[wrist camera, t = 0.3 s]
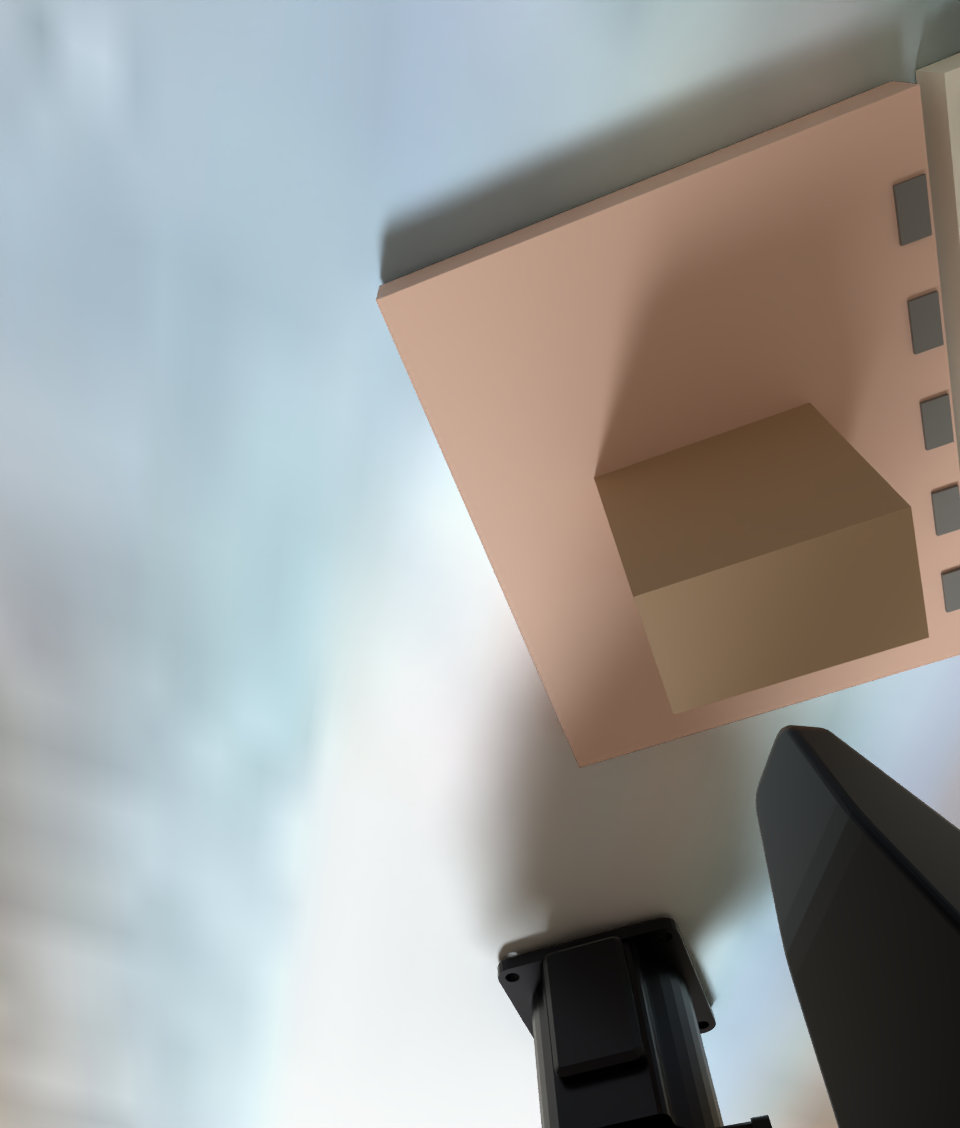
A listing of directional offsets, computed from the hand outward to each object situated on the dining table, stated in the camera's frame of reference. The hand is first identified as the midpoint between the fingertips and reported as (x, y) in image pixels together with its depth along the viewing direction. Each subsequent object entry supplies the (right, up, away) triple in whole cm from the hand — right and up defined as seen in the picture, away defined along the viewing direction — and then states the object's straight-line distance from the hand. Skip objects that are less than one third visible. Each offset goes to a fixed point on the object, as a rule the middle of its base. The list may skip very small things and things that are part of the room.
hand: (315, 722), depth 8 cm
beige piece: (+7, +4, +14) cm, 16 cm away
